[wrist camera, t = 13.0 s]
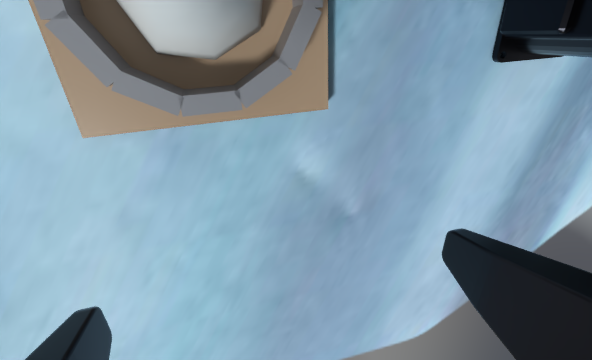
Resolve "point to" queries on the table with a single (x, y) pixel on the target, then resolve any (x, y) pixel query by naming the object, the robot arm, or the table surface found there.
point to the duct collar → (183, 68)
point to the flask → (194, 24)
